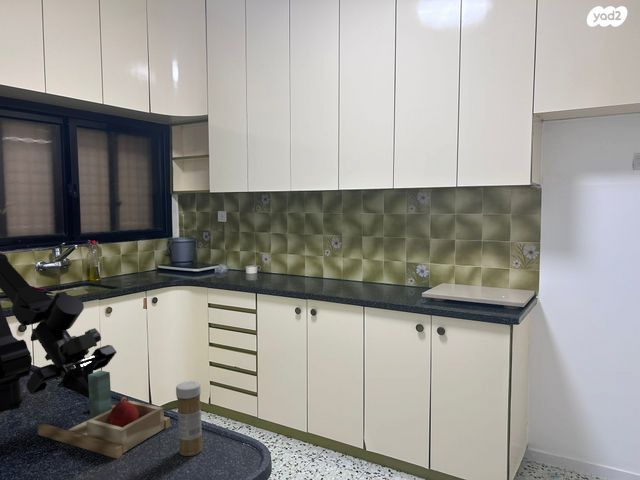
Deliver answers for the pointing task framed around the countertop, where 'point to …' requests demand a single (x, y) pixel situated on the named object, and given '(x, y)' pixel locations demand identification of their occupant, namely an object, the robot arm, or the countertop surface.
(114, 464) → the countertop surface
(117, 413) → the onion
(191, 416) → the sprinkles bottle
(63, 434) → the guide rails
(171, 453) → the countertop surface
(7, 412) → the countertop surface
